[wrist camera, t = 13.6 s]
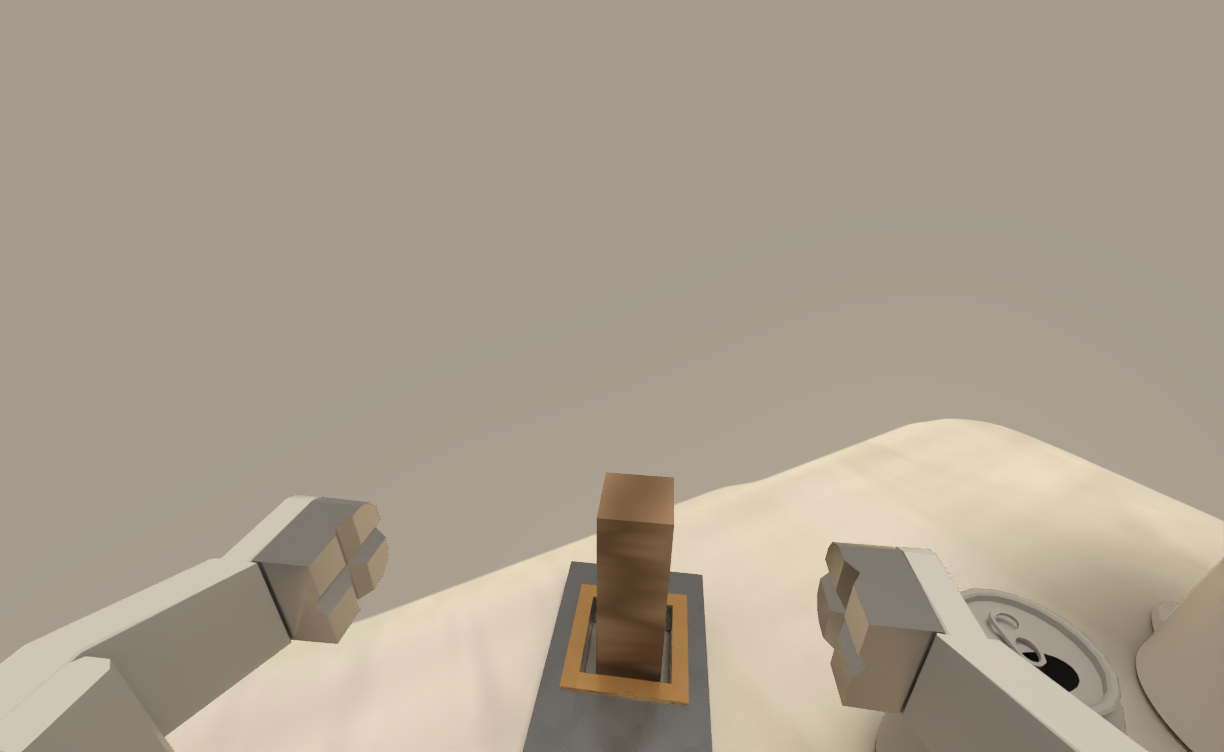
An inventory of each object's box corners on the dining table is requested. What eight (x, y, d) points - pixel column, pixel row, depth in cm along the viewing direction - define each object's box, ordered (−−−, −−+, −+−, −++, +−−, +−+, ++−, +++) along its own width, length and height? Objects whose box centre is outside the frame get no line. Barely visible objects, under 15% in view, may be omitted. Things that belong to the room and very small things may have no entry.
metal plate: (699, 597, 38) (702, 572, 37) (726, 1181, 17) (736, 1163, 16) (572, 583, 39) (571, 559, 38) (443, 1117, 18) (433, 1096, 17)
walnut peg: (660, 639, 35) (673, 477, 29) (658, 696, 31) (673, 524, 26) (604, 633, 35) (606, 472, 30) (596, 689, 32) (596, 517, 26)
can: (933, 894, 23) (1028, 743, 18) (845, 726, 30) (896, 581, 25) (1073, 868, 24) (1200, 718, 19) (957, 710, 31) (1029, 568, 26)
